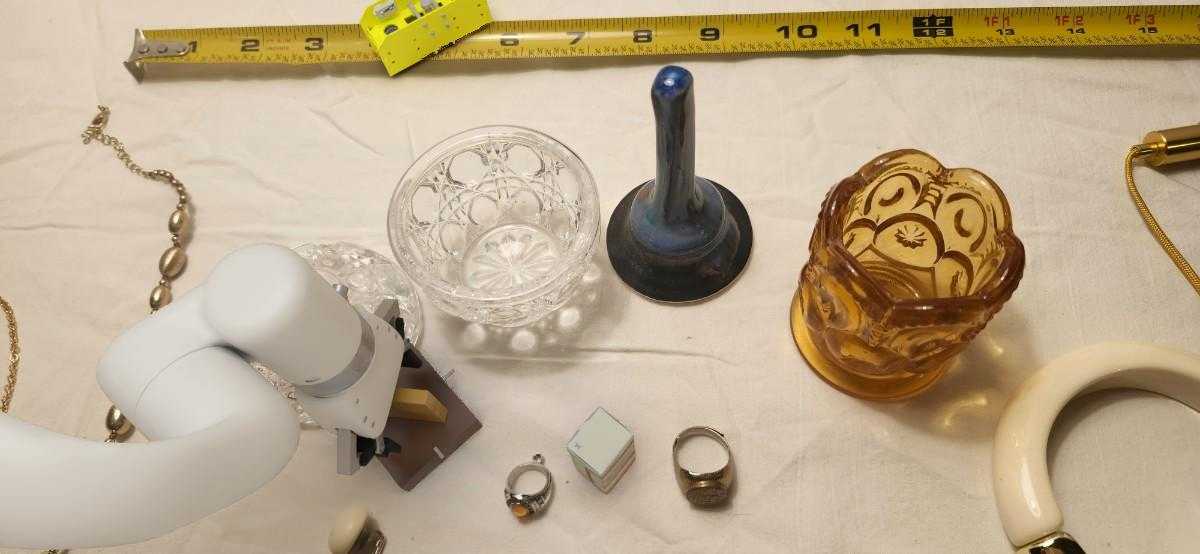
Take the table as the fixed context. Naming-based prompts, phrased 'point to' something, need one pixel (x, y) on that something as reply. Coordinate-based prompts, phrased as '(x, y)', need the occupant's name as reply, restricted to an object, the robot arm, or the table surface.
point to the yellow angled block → (416, 405)
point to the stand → (426, 428)
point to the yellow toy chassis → (419, 27)
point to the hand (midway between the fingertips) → (397, 405)
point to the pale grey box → (602, 449)
